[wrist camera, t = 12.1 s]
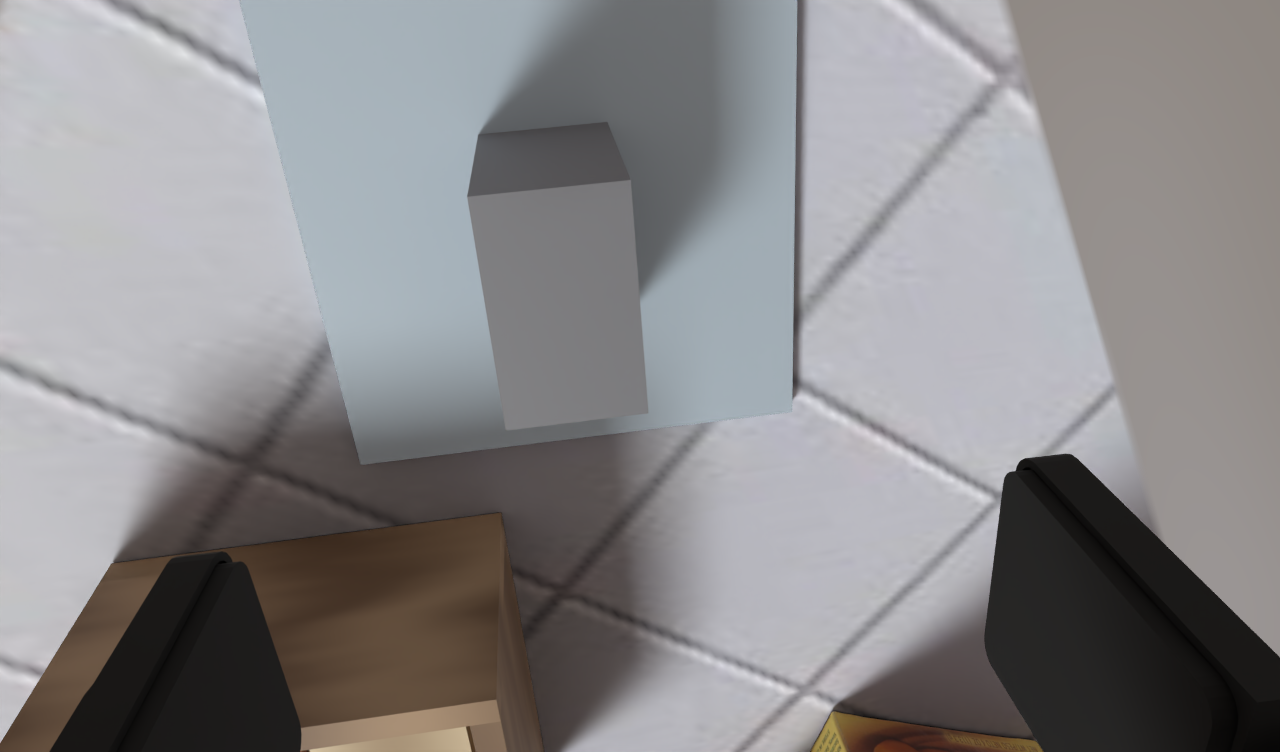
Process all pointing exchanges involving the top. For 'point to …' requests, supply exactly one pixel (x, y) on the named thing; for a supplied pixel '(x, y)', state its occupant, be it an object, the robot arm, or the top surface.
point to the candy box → (907, 738)
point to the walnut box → (347, 636)
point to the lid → (540, 210)
